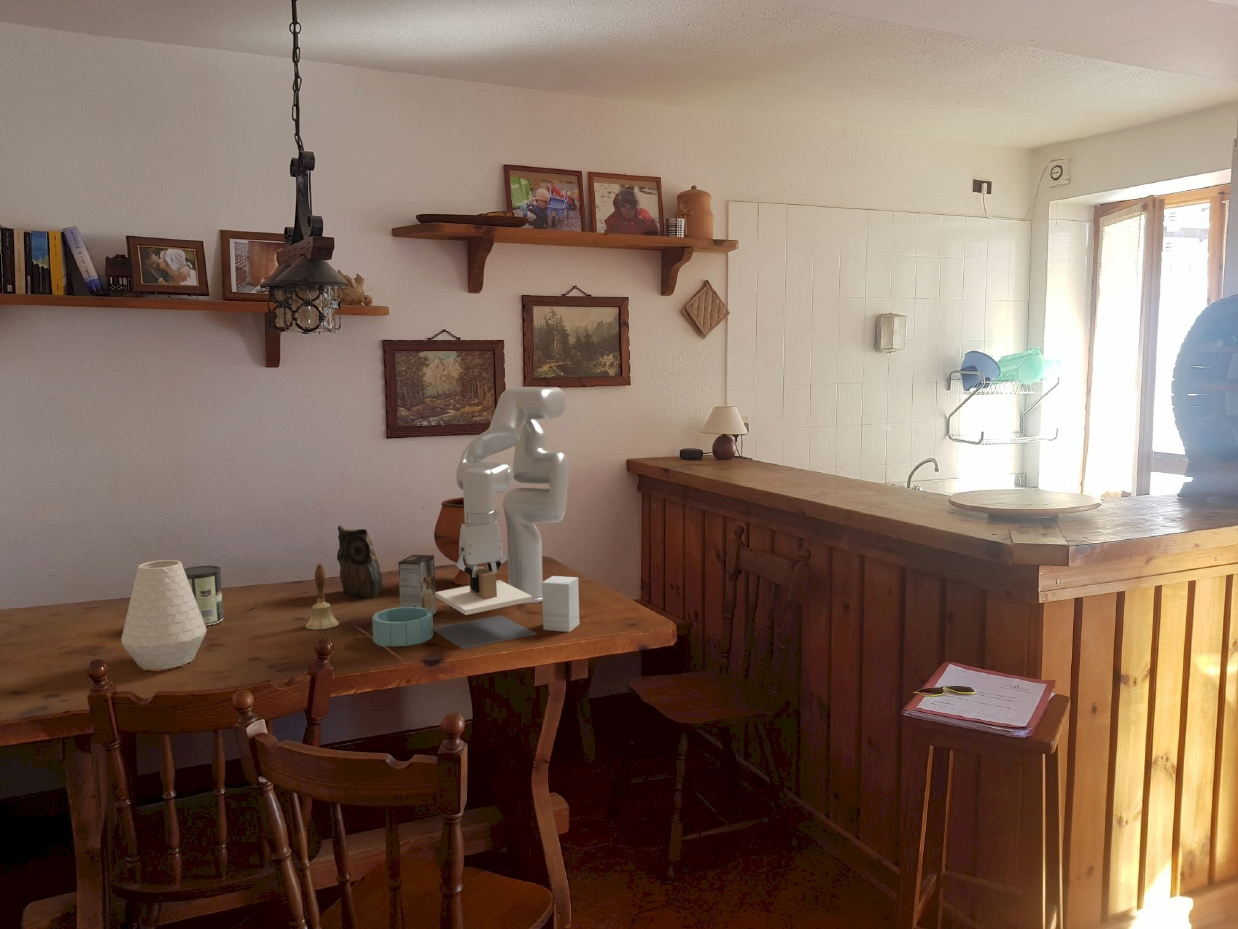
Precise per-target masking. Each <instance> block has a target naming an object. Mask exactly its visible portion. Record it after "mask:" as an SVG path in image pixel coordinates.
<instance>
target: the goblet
mask: <svg viewBox="0 0 1238 929" xmlns="http://www.w3.org/2000/svg"><path fill="white" fill-rule="evenodd" d="M440 505H441V508H440V512H439V514H438V516H437V519H436V523H435V527H434V531H433V538H434V543H435V546H436V547H437V550H438V551H439V552H440V553H441V554H442V555H443V556H444V557H445V558H447V560H449V561H452V562H453V563H456V564H457V562H458V560H459V540H460V531H461V525H462V524H465V517H464V496H462V497H455V498H449V499H446V500H445V499H444V500H443V501H442V502H441V504H440ZM464 566H466V567H468V565H467V564H466V562H465V563H464ZM458 570H459V571H458V573H457V574H456V575H455V577H454V578H453V580H452V582H453V583H454V584H457V585H460V584H461V585H462V586H470V585H469V584H470V579H469V575H468V574H467V573H466V572H465V571H463V570H461V569H458Z"/></svg>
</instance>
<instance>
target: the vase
mask: <svg viewBox="0 0 1238 929" xmlns="http://www.w3.org/2000/svg"><path fill="white" fill-rule="evenodd" d="M184 569H185V568H184V565H183V564H182V561H180V560H177V559H162V560H153V561H148V562H147V561H146V562H144V563H141V564H139V565H138V566H137V570H136V574H135V578H134V583H133V587H132V590H131V595H130V600H129V603H128V609H127V612H126V618H125V621H124V626H123V631H122V635H121V639H120V641H121V644H122V646H123V647H124V649H125V650H126V651H127V653H129V655H130V656H131V658H132V659H133V660H134V662H135V664H136V665H137V666H138V667H139V668H140V667H142V668H145V669H167V668H171V667H176V666H181V665H183V664H186V663H188V662H191V661H192V660H193V661H194V659H195V656H196V655H197V653H198V651H199V648H200V647H201V644H202V643H203V641H204V638H205V637H206V635H207V631H208V629H207V627H206V626H205V623H204V621H203V618H202V615H201V613H200V610H199V608H198V605H197V602H196V600H195V597H194V594H193V592H192V589H191V587H190V584H189V581H188V579H187V576H186V574H185V571H184ZM193 661H192V662H193ZM192 662H191V663H192Z"/></svg>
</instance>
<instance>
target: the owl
mask: <svg viewBox="0 0 1238 929" xmlns="http://www.w3.org/2000/svg"><path fill="white" fill-rule="evenodd" d="M337 530H338V536H337V537H338V547H339V548H338V550H337V554H336V559H337V562H338V564H339V566H340V570H339V578H340V582H341V584H342V588H343V589H342V592H343V593H342V592H341V595H342V594H343V595H342V596H343V597H349V598H354V599H375V598H377V597H378V595H380V593H381V592H382V591H383V589H382V588H383V575H382V572H381V566H380V562H379V560H378V557H377V554H376V552H375V548H374V544H373V541H372V539H371V536H370V535H369V533H368V530H367V529H366V528H360V527H354V526H348V527H347V526H342V525H341V524H340V525H337ZM380 591H381V592H380ZM379 592H380V593H379ZM377 594H378V595H377Z"/></svg>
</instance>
